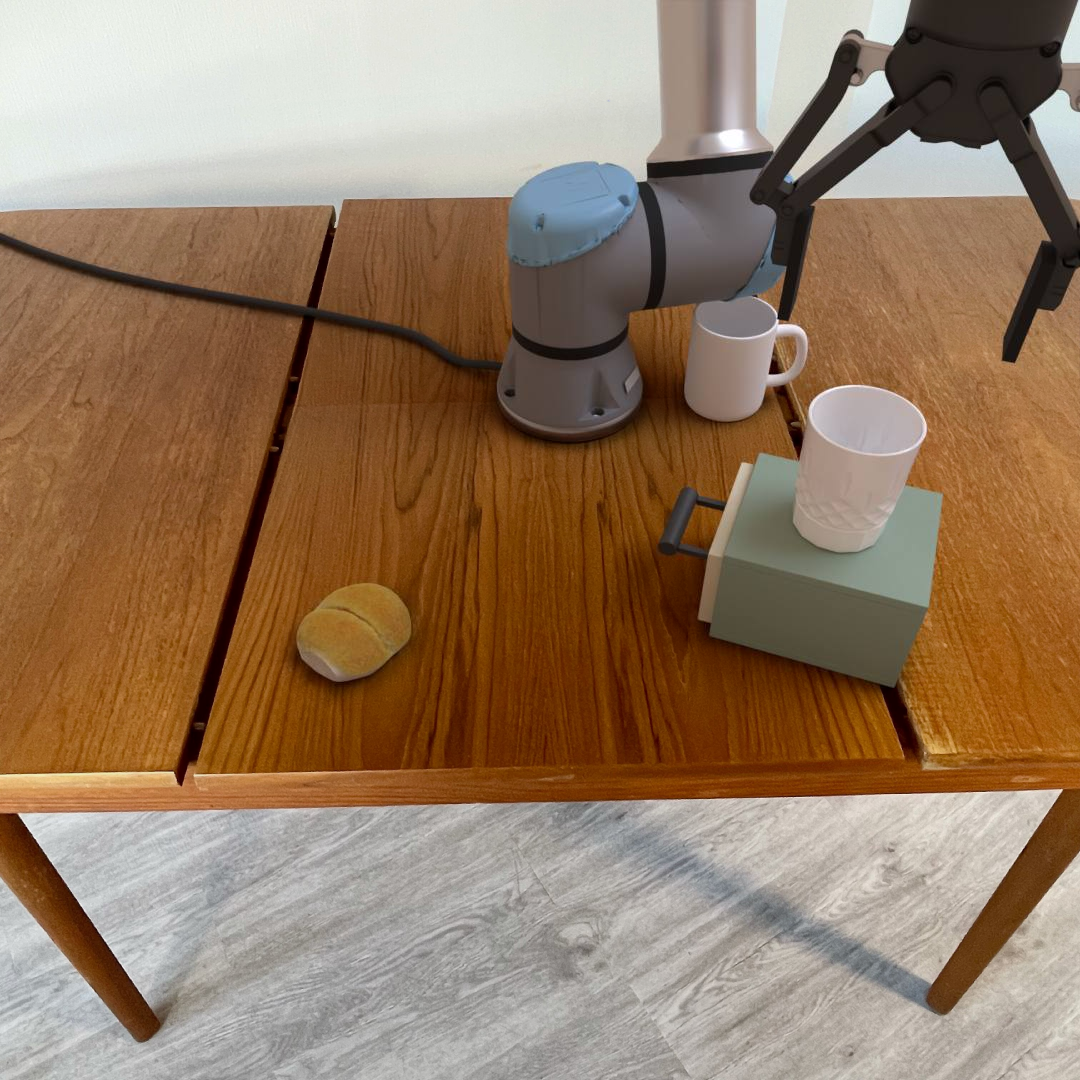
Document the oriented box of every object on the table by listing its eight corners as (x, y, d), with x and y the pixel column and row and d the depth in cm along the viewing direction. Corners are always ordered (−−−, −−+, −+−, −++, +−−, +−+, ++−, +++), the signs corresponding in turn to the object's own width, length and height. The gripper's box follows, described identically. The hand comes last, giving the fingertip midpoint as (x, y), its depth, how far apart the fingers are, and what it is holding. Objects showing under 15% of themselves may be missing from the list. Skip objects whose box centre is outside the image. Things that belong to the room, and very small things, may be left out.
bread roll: (430, 626, 76) (425, 594, 74) (355, 700, 71) (346, 669, 69) (358, 583, 80) (350, 551, 77) (281, 651, 75) (270, 619, 72)
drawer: (645, 605, 77) (652, 539, 71) (681, 515, 84) (690, 449, 78) (867, 666, 72) (892, 601, 66) (884, 566, 79) (909, 499, 74)
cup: (678, 376, 100) (688, 293, 93) (789, 375, 100) (807, 291, 93) (688, 424, 95) (698, 339, 87) (805, 422, 95) (825, 337, 87)
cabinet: (708, 636, 75) (723, 554, 68) (742, 533, 83) (759, 452, 77) (893, 688, 71) (928, 607, 65) (910, 575, 80) (943, 493, 73)
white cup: (892, 566, 67) (932, 461, 60) (782, 552, 69) (808, 447, 61) (886, 494, 73) (922, 390, 66) (784, 482, 74) (808, 379, 67)
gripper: (729, -63, 44) (686, 323, 59) (1335, -17, 38) (1112, 404, 53) (762, -97, 49) (714, 267, 64) (1303, -62, 42) (1108, 335, 57)
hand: (894, 330), depth 58 cm, fingers open, 13 cm apart
